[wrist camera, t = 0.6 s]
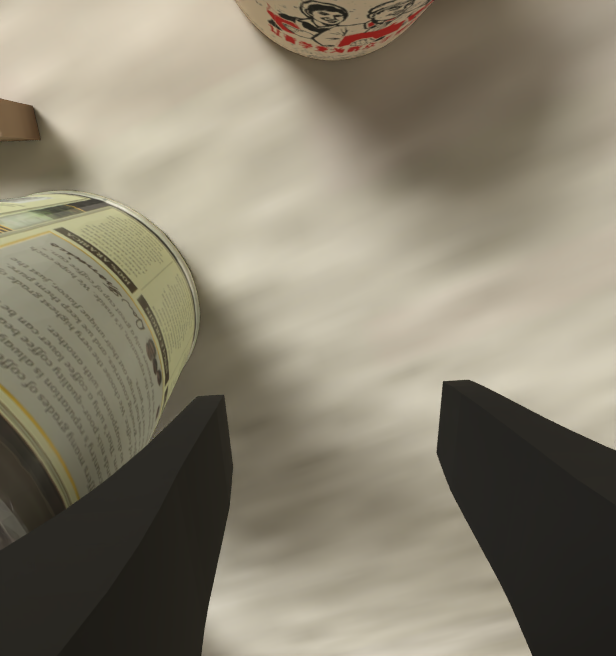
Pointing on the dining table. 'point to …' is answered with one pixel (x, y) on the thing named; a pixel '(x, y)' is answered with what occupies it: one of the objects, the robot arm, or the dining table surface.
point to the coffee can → (82, 346)
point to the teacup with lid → (333, 24)
